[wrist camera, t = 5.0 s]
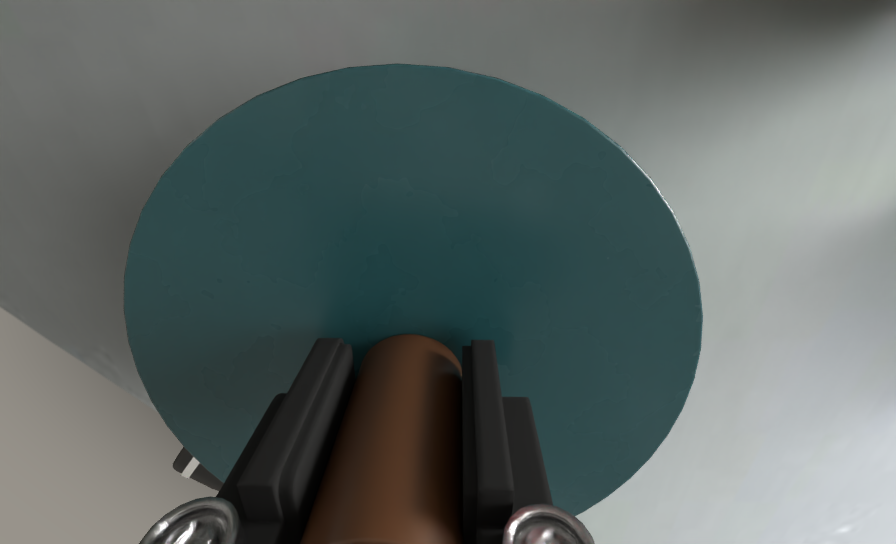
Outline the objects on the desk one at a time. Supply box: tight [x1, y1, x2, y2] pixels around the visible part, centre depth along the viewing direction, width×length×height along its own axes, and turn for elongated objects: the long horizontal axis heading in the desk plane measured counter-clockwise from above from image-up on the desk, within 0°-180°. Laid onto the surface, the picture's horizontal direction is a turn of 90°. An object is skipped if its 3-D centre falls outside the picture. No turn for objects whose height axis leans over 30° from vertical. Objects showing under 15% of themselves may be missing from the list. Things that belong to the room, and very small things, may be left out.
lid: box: [124, 64, 703, 544], centre depth 9 cm, size 14×14×6 cm
